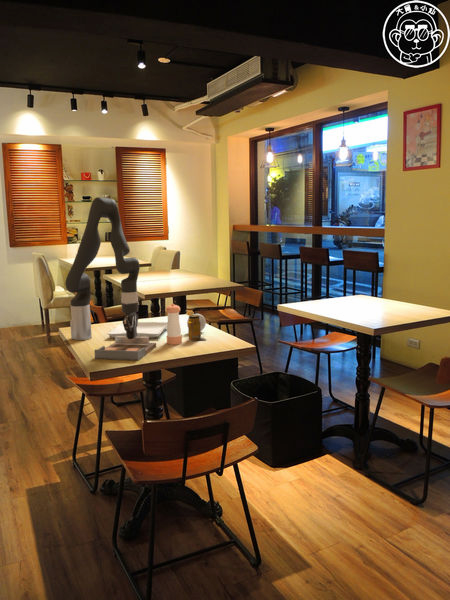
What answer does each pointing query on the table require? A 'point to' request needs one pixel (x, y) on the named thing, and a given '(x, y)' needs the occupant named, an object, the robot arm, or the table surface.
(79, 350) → the table surface
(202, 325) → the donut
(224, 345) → the table surface
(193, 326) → the condiment
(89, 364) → the table surface
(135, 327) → the gray bar with block
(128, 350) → the tile right
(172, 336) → the pepper shaker
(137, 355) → the box
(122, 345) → the board
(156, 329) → the square plate
